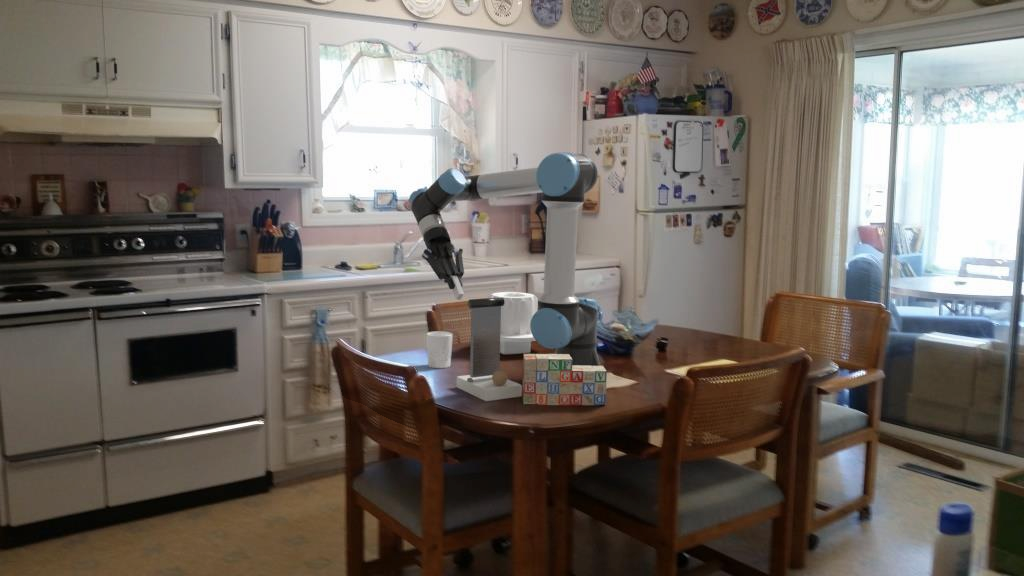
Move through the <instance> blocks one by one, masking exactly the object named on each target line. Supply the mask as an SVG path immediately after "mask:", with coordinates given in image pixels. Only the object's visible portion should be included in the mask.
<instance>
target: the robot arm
mask: <svg viewBox="0 0 1024 576" xmlns="http://www.w3.org/2000/svg"><path fill="white" fill-rule="evenodd" d="M598 172H599V171H598V167H597V165H596V163H595V162H594V161H593V160H592V159H591V158H590V157H589V156H587V155H585V154H581V153H573V152H567V151H566V152H565V151H562V152H553V153H551V154H548V155H546V157H544V158H543V159H542V160H541V161H540V163H539V165H538V166H537V167H532V168H531V167H529V168H524V169H523V168H522V169H515V170H507V171H500V172H499V171H498V172H492V173H491V172H490V173H485V174H476V175H469V176H468V175H467V176H466V175H463V173H462V172H461V171H460V170H458V169H456V168H454V167H452V168H448V169H447V170H446V171H444V172H443V173H442V174H441V175H439V177H438V178H437V179H436V180H435V181H434V182H433V183H432V184H431V185H430V186H429V187H428V188H427V187H426V188H425V187H422V188H417V190H414V191H412V192H411V194H410V196H409V198H408V202H409V205H410V210H411V212H412V215H413V216H414V218H415V220H416V222H417V226H418V228H419V230H420V234H421V236H422V239H423V241H424V244H425V247H426V249H424V250H423V252H422V254H421V257H422V258H423V259H424V260H425V261H426V262H427V263H428V264H429V266H430V268H431V270H432V271H433V272H434V274H435V275H436V276H437V278H438V280H444V281H443V282H444V283H445V284H447V286H448V288H449V289H450V290H451V291H452V293H453V295H454V297H455V299H456V301H458V300H459V301H460V300H462V299H463V296H464V295H465V292H464V290H463V285H464V284H463V282H462V280H461V279H462V277H463V276H464V274H465V268H464V262H463V252H464V250H463V248H459V249H458V248H456V247H455V246H454V244H453V243H452V240H451V236H450V234H449V231H448V230H447V227H446V225H445V222H444V220H443V217H442V215H441V211H443V210H444V209H445V208H446V207H447V206H448V205H449V204H450V203H452V202H457V201H458V202H461V201H462V202H463V201H464V202H465V201H467V202H468V201H470V202H475V201H479V200H485V199H494V198H495V199H496V198H501V197H502V198H503V197H505V198H506V197H512V196H523V195H531V194H540V193H541V196H542V198H541V202H542V203H543V205H544V206H545V207H546V229H545V247H544V249H545V250H544V251H545V252H544V253H545V254H544V271H543V273H544V275H543V276H544V277H543V293H542V294H541V295H540V296H539V297H537V299H538V301H537V312H536V313H535V314H534V315H533V317H532V319H531V322H530V329H531V333H532V335H533V337H534V339H535V340H536V341H535V342H537V343H538V344H539V346H542V347H543V348H545V349H551V350H552V349H553V350H554V349H555V352H554V354H569V355H570V357H571V358H572V365H580V366H602V365H601V361H600V359H599V356H598V352H597V337H598V336H597V333H598V313H599V309H598V302H597V300H596V299H594V298H586V297H577V296H576V295H575V279H576V262H577V261H576V260H577V258H576V257H577V239H578V218H579V217H578V216H579V208H580V207H582V205H583V204H584V203H585V194H587V193H588V192H590V191H591V190H592V189H593V188H594V186H596V183H597V181H598V174H599V173H598ZM454 258H455V260H454Z"/></svg>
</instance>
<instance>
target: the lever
mask: <svg viewBox="0 0 1024 576" xmlns="http://www.w3.org/2000/svg"><path fill="white" fill-rule="evenodd" d="M504 303H505V301H504V298H502V297H501V298H488V297H487V298H472V299H469V300H468V302H467V306H468V308H469V309H470V310H471V311H470V317H471V318H470V352H469V354H470V355H469V359H470V360H469V363H470V364H469V375H470V377H472V378H474V377H482V376H490V375H493V374H494V373H495V372H496V371H499V370H500V366H501V365H500V361H501V359H500V358H501V353H500V328H501V306H504Z"/></svg>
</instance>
